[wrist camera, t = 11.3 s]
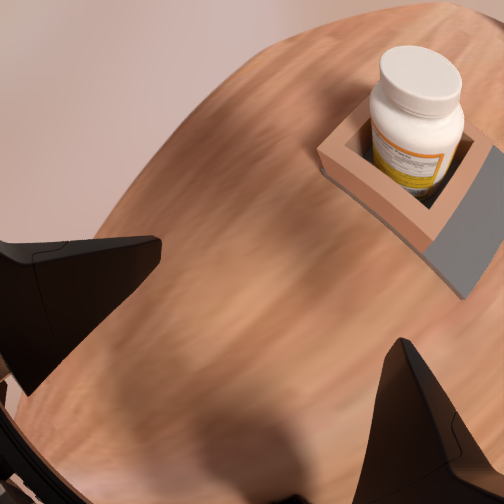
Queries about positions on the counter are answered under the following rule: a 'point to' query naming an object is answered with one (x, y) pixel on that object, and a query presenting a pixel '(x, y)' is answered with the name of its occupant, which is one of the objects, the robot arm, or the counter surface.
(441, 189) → the socket stand
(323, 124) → the counter surface
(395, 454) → the robot arm
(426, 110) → the supplement bottle
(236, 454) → the counter surface
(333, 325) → the counter surface
